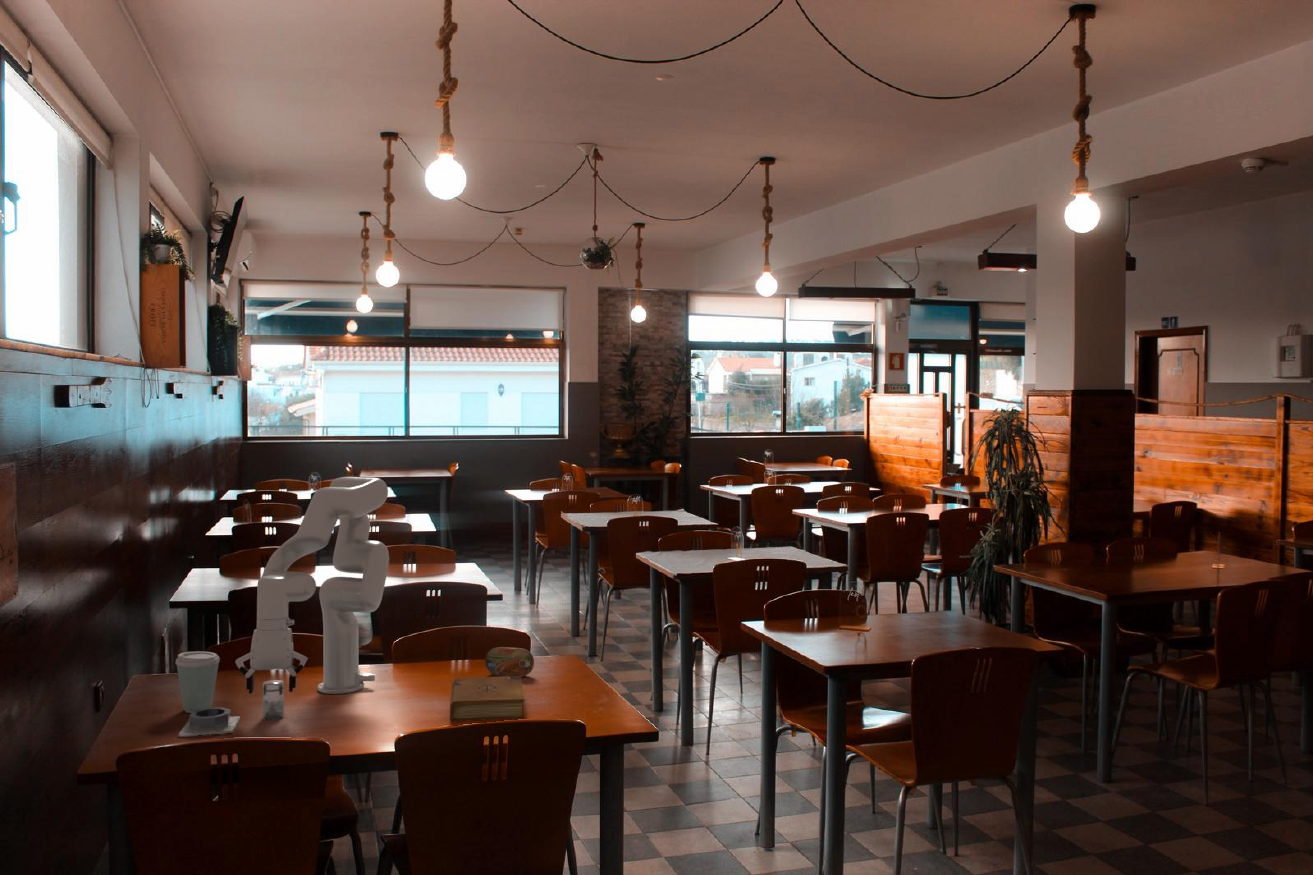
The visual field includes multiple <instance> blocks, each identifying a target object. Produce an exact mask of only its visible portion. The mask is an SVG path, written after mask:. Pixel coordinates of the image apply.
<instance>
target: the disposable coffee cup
mask: <svg viewBox="0 0 1313 875" xmlns="http://www.w3.org/2000/svg"><path fill="white" fill-rule="evenodd" d="M220 661H221V659H220V656H219V655H218V654H217V653H215V652H211V651H199V650H197V651H185V652H181V653H179V654H177V658H176V659H175V665H176V669H177V676H178V682H179V688H180V695H181V702H182V707H183V709H184V711H185V713H190V714H191V713H192V712H193V711H197V710H201V709H204V708H212V705H213V700H214V694H215V688H216V683H217V675H218V670H219V664H220Z"/></svg>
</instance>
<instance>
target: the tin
mask: <svg viewBox="0 0 1313 875" xmlns="http://www.w3.org/2000/svg"><path fill="white" fill-rule="evenodd" d="M485 666H486V667H485V668H486V669H487V671H488V672H489V673H491V675H493V676H495V677H503V676H521V678H523V677H526V676H528V675H529V674H530V673H531V672H532V671H533V669H534V666H535V658H534V656H533V654H532V652H531V651H529V650H528V649H526V648H521V647H508V646H507V647H504V646H499V647H493V648H491V649H490V650H488V652H487V653H486V655H485Z"/></svg>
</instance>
